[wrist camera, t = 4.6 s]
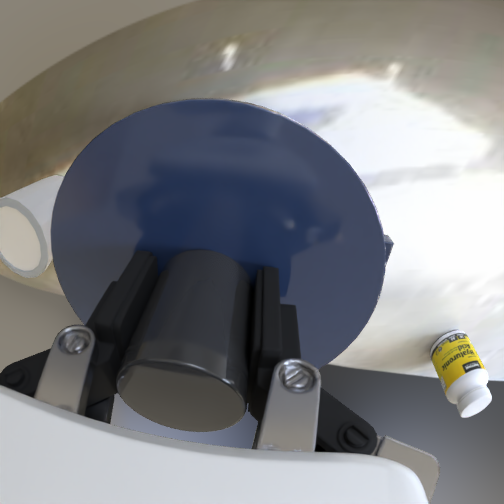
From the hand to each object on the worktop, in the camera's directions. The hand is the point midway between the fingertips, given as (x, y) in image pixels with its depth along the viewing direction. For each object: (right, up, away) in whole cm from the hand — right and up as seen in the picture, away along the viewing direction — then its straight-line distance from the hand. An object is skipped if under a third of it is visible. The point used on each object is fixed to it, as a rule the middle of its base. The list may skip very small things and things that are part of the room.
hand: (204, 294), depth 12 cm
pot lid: (0, +1, +1) cm, 1 cm away
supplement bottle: (+25, -10, +20) cm, 34 cm away
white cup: (-16, +6, +13) cm, 21 cm away
